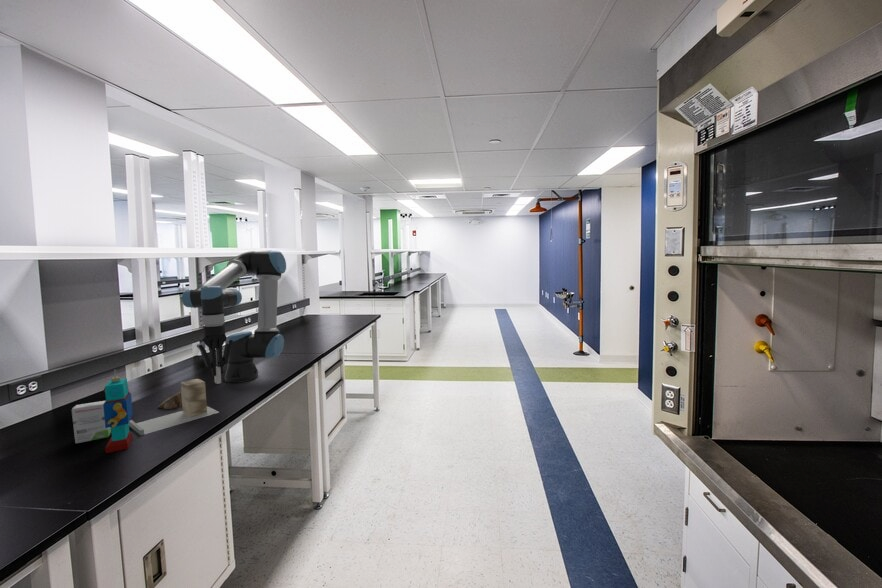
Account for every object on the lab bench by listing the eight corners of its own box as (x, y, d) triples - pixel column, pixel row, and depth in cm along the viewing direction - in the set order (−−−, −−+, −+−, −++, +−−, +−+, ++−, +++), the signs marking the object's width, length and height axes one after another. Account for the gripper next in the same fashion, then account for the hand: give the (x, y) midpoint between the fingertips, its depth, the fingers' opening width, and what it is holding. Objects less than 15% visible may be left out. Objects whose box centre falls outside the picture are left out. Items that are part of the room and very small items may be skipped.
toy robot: (112, 441, 129) (105, 366, 127) (135, 436, 132) (129, 364, 130) (104, 455, 119) (96, 375, 117) (129, 450, 122) (122, 372, 120)
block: (199, 408, 156) (197, 378, 155) (207, 412, 151) (204, 381, 150) (182, 413, 151) (180, 382, 150) (189, 417, 147) (187, 385, 146)
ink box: (111, 432, 136) (108, 399, 135) (108, 437, 132) (105, 403, 131) (78, 438, 132) (75, 404, 131) (74, 444, 127) (70, 409, 126)
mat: (204, 405, 160) (204, 400, 160) (219, 413, 152) (219, 408, 151) (128, 426, 141) (128, 420, 141) (140, 436, 132) (140, 430, 132)
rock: (182, 409, 157) (181, 395, 157) (153, 412, 155) (152, 397, 155) (196, 396, 172) (195, 383, 172) (170, 398, 170) (169, 385, 169)
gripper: (226, 321, 163) (230, 377, 165) (192, 326, 153) (196, 385, 155) (235, 323, 158) (238, 380, 160) (199, 328, 148) (204, 388, 150)
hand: (218, 382), depth 157 cm, fingers closed
